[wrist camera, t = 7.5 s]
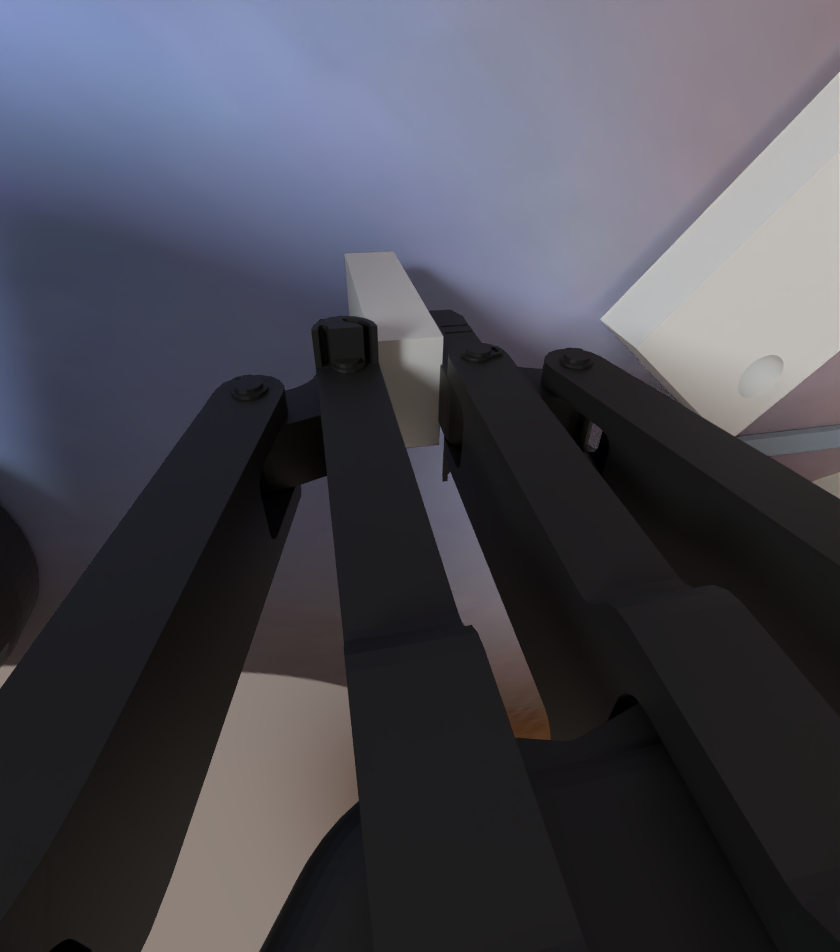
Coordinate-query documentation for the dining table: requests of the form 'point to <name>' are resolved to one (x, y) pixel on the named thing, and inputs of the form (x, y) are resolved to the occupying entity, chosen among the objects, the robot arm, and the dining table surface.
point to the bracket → (749, 281)
